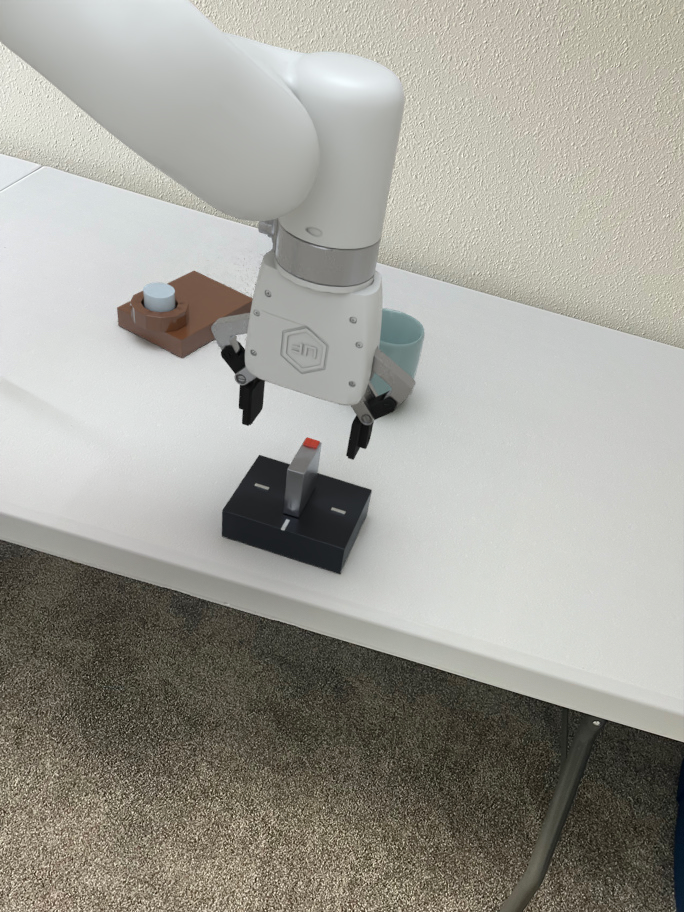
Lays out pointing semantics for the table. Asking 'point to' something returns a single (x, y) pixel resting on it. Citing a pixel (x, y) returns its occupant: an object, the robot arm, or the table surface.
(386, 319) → the cup
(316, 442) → the tap knob
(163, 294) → the pale blue short cylinder
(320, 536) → the plate
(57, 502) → the table surface
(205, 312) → the brown mounting plate
